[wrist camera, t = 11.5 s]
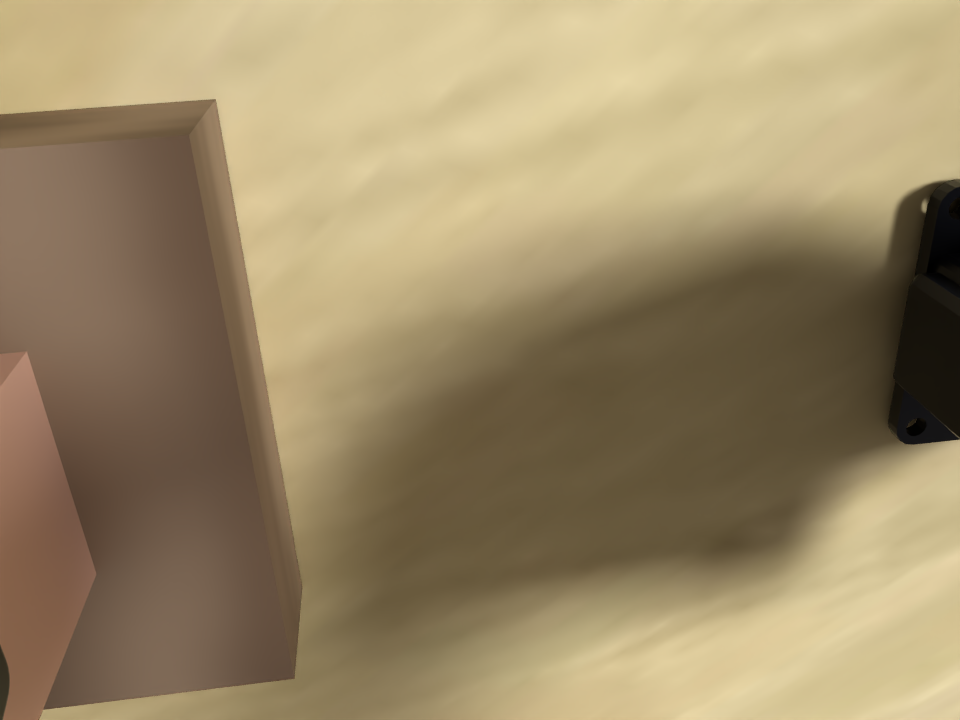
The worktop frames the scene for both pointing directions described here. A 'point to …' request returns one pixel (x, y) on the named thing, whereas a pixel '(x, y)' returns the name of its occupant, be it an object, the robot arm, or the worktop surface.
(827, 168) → the worktop surface
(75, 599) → the terracotta block
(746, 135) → the worktop surface
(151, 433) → the walnut base
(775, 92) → the worktop surface
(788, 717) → the worktop surface
